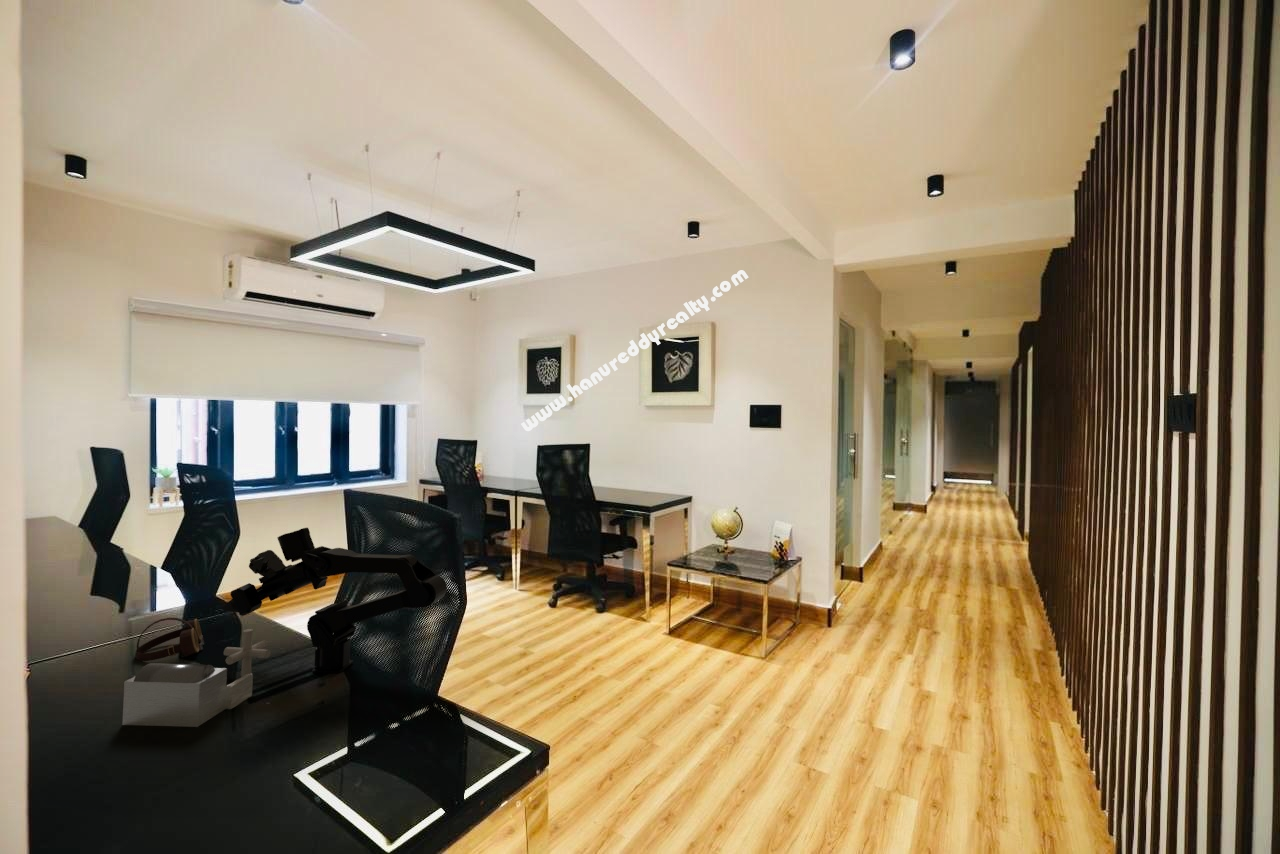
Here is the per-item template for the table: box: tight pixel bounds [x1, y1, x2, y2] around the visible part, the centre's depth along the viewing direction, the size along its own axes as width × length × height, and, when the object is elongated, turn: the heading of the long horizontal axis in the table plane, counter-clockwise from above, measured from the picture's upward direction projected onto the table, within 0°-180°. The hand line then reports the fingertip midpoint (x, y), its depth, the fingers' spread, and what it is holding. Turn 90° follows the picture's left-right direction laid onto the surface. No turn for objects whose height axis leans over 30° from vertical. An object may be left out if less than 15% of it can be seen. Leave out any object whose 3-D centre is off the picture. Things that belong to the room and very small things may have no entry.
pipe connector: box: [223, 628, 271, 677], centre depth 128 cm, size 10×10×10 cm
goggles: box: [134, 617, 205, 662], centre depth 139 cm, size 15×13×10 cm
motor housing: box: [121, 662, 254, 728], centre depth 111 cm, size 17×13×10 cm
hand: (238, 601), depth 135 cm, fingers open, 9 cm apart
